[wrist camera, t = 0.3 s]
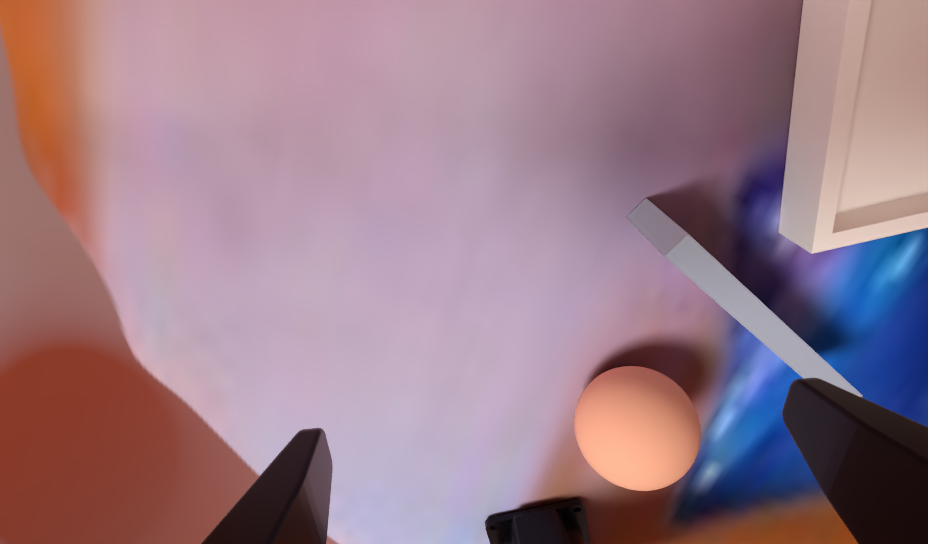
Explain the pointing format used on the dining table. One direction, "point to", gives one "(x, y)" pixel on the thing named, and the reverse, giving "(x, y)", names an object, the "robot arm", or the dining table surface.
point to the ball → (637, 428)
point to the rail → (731, 294)
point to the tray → (857, 124)
